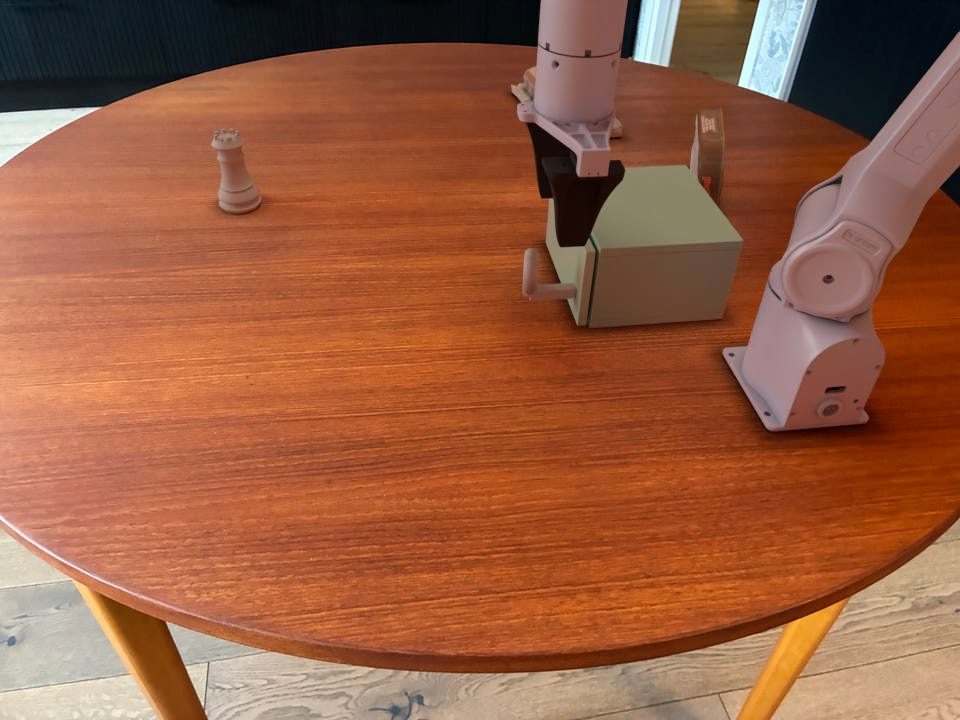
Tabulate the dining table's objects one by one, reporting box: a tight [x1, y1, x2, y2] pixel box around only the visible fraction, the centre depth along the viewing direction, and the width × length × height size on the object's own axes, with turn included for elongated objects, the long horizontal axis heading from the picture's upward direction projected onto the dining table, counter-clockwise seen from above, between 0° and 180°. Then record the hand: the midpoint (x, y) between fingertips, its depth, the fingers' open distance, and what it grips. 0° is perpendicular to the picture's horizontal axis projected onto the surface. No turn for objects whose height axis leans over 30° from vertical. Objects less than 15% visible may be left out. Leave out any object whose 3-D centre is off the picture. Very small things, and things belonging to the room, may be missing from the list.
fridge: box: [586, 164, 744, 329], centre depth 69 cm, size 12×14×8 cm
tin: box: [689, 107, 726, 207], centre depth 82 cm, size 15×3×8 cm, turn 168°
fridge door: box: [521, 198, 596, 327], centre depth 68 cm, size 5×14×7 cm, turn 7°
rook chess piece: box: [210, 127, 262, 215], centre depth 79 cm, size 4×4×8 cm
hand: (561, 219), depth 61 cm, fingers open, 7 cm apart
